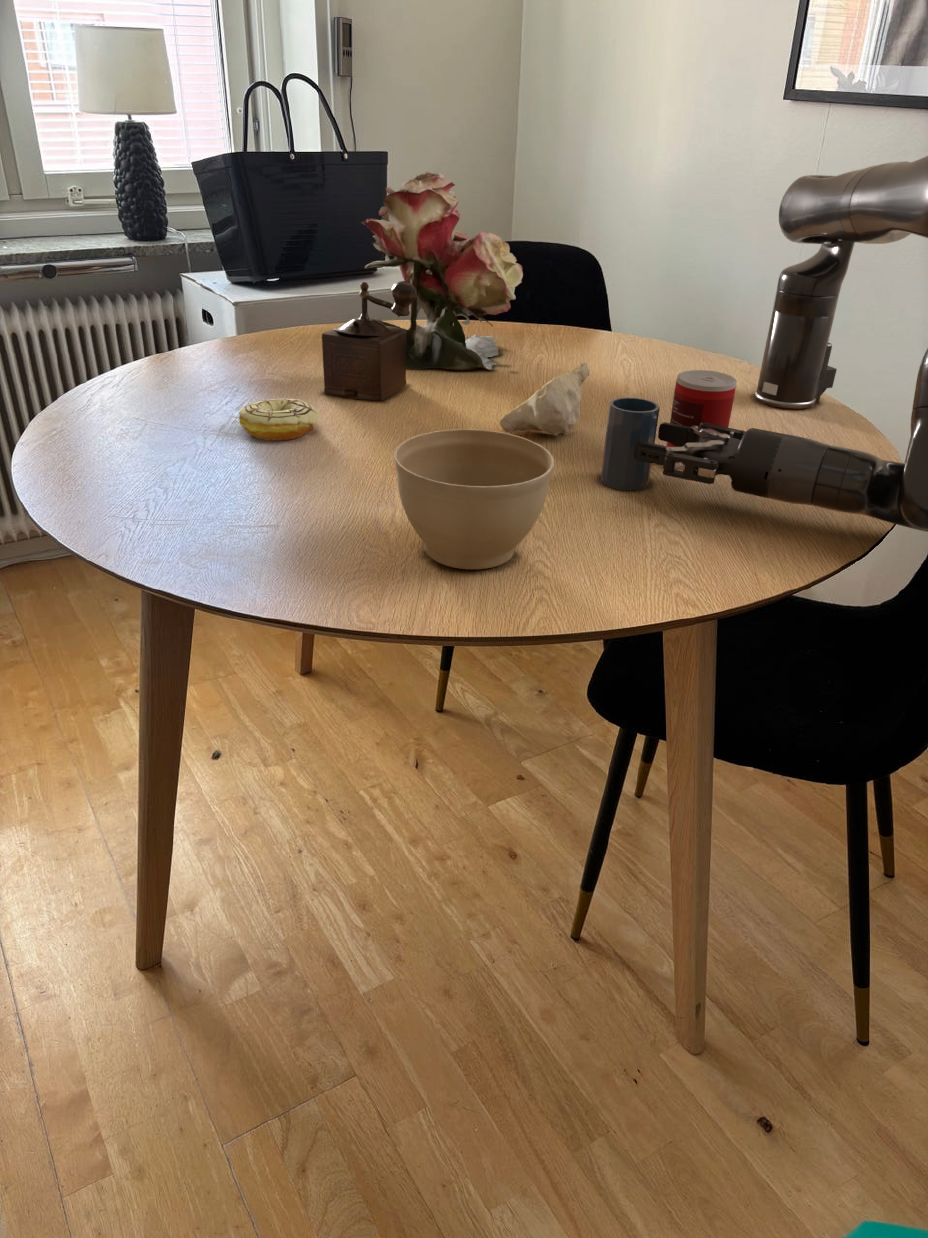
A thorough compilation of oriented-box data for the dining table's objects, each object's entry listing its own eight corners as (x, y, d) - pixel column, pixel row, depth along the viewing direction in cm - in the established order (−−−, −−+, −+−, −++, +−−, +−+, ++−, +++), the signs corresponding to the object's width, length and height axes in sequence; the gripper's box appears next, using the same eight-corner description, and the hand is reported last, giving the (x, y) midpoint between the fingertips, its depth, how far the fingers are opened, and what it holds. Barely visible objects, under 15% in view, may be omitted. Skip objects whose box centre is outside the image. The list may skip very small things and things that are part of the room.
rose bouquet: (519, 373, 157) (531, 182, 142) (351, 367, 157) (345, 176, 142) (514, 338, 179) (524, 169, 164) (366, 333, 179) (363, 164, 164)
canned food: (724, 452, 126) (739, 373, 120) (719, 471, 119) (734, 389, 114) (669, 444, 128) (681, 366, 122) (661, 463, 121) (673, 382, 116)
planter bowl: (428, 599, 87) (429, 494, 82) (374, 532, 100) (372, 437, 95) (573, 572, 93) (583, 473, 88) (505, 512, 106) (510, 421, 100)
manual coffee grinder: (319, 395, 143) (313, 275, 134) (350, 377, 152) (347, 263, 143) (410, 408, 139) (410, 285, 130) (436, 389, 148) (438, 273, 139)
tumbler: (632, 470, 119) (642, 395, 114) (657, 487, 114) (669, 409, 109) (592, 475, 117) (600, 399, 112) (616, 493, 112) (625, 414, 107)
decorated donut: (333, 433, 128) (331, 407, 126) (266, 449, 121) (264, 421, 119) (292, 414, 134) (291, 389, 132) (227, 428, 128) (225, 402, 126)
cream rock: (526, 464, 125) (615, 396, 122) (494, 421, 124) (583, 351, 121) (530, 459, 140) (610, 398, 137) (502, 421, 139) (582, 359, 136)
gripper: (800, 419, 108) (670, 395, 115) (772, 454, 97) (630, 425, 104) (787, 478, 112) (662, 452, 119) (758, 518, 101) (622, 486, 108)
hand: (647, 439), depth 111 cm, fingers open, 8 cm apart
